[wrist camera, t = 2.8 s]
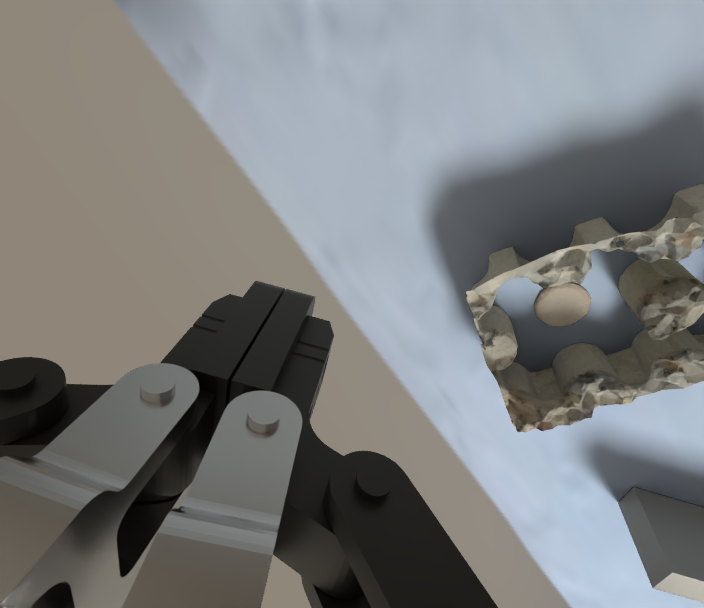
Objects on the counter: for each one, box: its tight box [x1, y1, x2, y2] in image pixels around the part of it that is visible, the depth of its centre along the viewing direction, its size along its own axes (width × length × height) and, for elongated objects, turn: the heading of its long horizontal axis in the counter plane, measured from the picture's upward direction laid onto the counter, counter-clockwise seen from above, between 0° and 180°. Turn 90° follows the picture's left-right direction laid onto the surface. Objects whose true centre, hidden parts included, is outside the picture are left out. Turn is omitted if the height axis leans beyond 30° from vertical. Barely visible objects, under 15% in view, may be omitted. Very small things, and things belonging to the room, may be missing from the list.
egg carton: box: [466, 184, 704, 432], centre depth 17 cm, size 11×8×4 cm
